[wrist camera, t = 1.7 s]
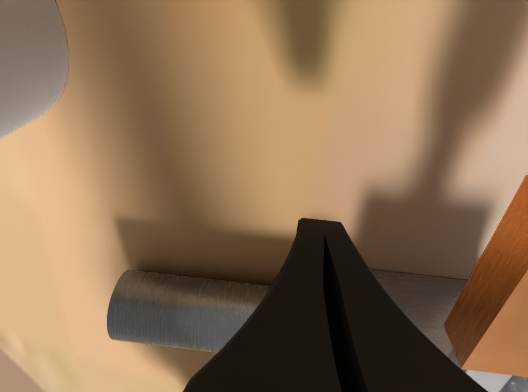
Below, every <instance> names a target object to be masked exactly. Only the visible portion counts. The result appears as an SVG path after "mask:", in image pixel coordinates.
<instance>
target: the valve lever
mask: <svg viewBox="0 0 528 392" xmlns="http://www.w3.org/2000/svg"><path fill="white" fill-rule="evenodd" d="M444 328H445V330H446V333H447V335H448V338H449V340H450V343H451V345H452V348H453V349H452V350H451V352H450V353H449V355H448V358H449V359H450V360H451V361H453V362H454V363H455V364H456V365H457V366H458V367H459V368H461V369H462V370H463V371H464V372H465V373H466V374H468V375H469V376H470V377H471V378H472V379H473V380H475V381H476V382H477V383H478V384H479V385H481V386H482V387H483V388H484V389H486V390H487V391H488V392H499V391H500V390H501V389H502V387H503V386H504V385H505V384H506V383H507V381H508V380H509V379H510V378H511V377H512V375H513V376H521V377H528V175H526V176H525V178H524V180H523V182H522V184H521V185H520V187H519V189H518V191H517V193H516V194H515V196H514V198H513V200H512V202H511V203H510V205H509V207H508V209H507V211H506V212H505V214H504V216H503V218H502V220H501V221H500V223H499V225H498V227H497V229H496V231H495V232H494V234H493V236H492V238H491V240H490V241H489V243H488V245H487V247H486V249H485V250H484V252H483V254H482V256H481V258H480V259H479V261H478V263H477V265H476V267H475V268H474V270H473V272H472V274H471V276H470V278H469V279H468V281H467V283H466V285H465V287H464V288H463V290H462V292H461V294H460V296H459V297H458V299H457V301H456V303H455V305H454V306H453V308H452V310H451V312H450V314H449V315H448V317H447V319H446V321H445V323H444Z"/></svg>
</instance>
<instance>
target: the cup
mask: <svg viewBox="0 0 528 392" xmlns="http://www.w3.org/2000/svg"><path fill="white" fill-rule="evenodd" d="M68 67H69V52H68V43H67V37H66V32H65V28H64V25H63V21H62V18H61V15H60V12H59V9H58V7H57V5H56V2H55V0H0V139H1V138H3V137H5V136H7V135H9V134H10V133H12V132H14V131H16V130H18V129H19V128H21V127H23V126H25V125H27V124H28V123H30V122H32V121H34V120H36V119H38V118H39V117H41V116H43V115H44V114H46V113H47V112H48V111H49V110H50V109H51V108H52V107H53V106H54V105H55V104H56V102H57V101H58V99H59V98H60V96H61V94H62V92H63V90H64V87H65V84H66V80H67V75H68Z"/></svg>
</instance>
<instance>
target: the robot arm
mask: <svg viewBox="0 0 528 392" xmlns="http://www.w3.org/2000/svg"><path fill="white" fill-rule="evenodd" d="M183 392H488V391H487V390H486V389H484V388H483V387H482V386H481V385H479V384H478V383H477V382H476V381H475V380H473V379H472V378H471V377H470V376H469V375H468V374H466V373H465V372H464V371H463V370H462V369H461V368H459V367H458V366H457V365H456V364H455V363H454V362H453V361H451V360H450V359H449V358H448V357H447V356H446V355H445V354H444V353H443V352H442V351H441V350H439V349H438V348H437V347H436V346H435V345H434V344H433V343H432V342H431V341H430V340H429V339H428V338H427V337H426V336H425V335H424V334H423V333H422V332H421V331H420V330H419V329H418V328H417V327H416V326H415V325H414V324H413V323H412V322H411V321H410V320H409V319H408V317H407V316H406V315H405V314H404V313H403V312H402V311H401V309H400V308H399V307H398V306H397V305H396V304H395V302H394V301H393V300H392V299H391V297H390V296H389V295H388V294H387V292H386V291H385V290H384V288H383V287H382V286H381V284H380V283H379V282H378V280H377V279H376V278H375V276H374V275H373V273H372V272H371V271H370V269H369V268H368V266H367V265H366V263H365V262H364V260H363V259H362V257H361V255H360V254H359V252H358V251H357V249H356V247H355V246H354V244H353V242H352V241H351V239H350V237H349V235H348V234H347V232H346V230H345V228H344V226H343V225H342V224H341V222H335V221H326V220H317V219H307V218H302V219H300V220H298V227H297V234H296V237H295V240H294V243H293V245H292V248H291V250H290V252H289V254H288V257H287V259H286V261H285V263H284V265H283V267H282V268H281V270H280V272H279V274H278V276H277V278H276V279H275V281H274V283H273V284H272V286H271V287H270V289H269V291H268V292H267V294H266V295H265V296H264V298H263V299H262V301H261V302H260V304H259V305H258V306H257V308H256V309H255V310H254V312H253V313H252V314H251V316H250V317H249V318H248V319H247V321H246V322H245V323H244V324H243V325H242V327H241V328H240V329H239V330H238V331H237V332H236V333H235V335H234V336H233V337H232V338H231V339H230V340H229V341H228V342H227V343H226V345H225V346H224V347H223V348H222V349H221V350H220V351H219V352H218V353H217V354H216V355H215V356H214V357H213V358H212V359H211V360H210V361H209V362H208V363H207V364H206V365H205V366H203V367H202V368H201V369H200V370H199V371H198V372H197V373H196V374H195V375H194V376H193V377H192V378H191V379H190V381H189V382H188V384H187V385H186V387H185V389H184V391H183Z"/></svg>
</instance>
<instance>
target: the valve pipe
mask: <svg viewBox="0 0 528 392" xmlns="http://www.w3.org/2000/svg"><path fill="white" fill-rule="evenodd" d="M370 271H371V272H372V273H373V275H374V276H375V278H376V279H377V280H378V282H379V283H380V284H381V286H382V287H383V288H384V290H385V291H386V292H387V294H388V295H389V296H390V297H391V299H392V300H393V301H394V302H395V304H396V305H397V306H398V307H399V308H400V309H401V311H402V312H403V313H404V314H405V315H406V316H407V317H408V319H409V320H410V321H411V322H412V323H413V324H414V325H415V326H416V327H417V328H418V329H419V330H420V331H421V332H422V333H423V334H424V335H425V336H426V337H427V338H428V339H429V340H430V341H431V342H432V343H433V344H434V345H435V346H436V347H437V348H438V349H439V350H441V351H442V352H443V353H444V354H445V355H446V356H447V357H448V355H449V353H450V352H451V350H452V349H453V348H452V345H451V343H450V340H449V338H448V335H447V333H446V330H445V328H444V323H445V321H446V319H447V317H448V315H449V314H450V312H451V310H452V308H453V306H454V305H455V303H456V301H457V299H458V297H459V296H460V294H461V292H462V290H463V288H464V287H465V285H466V283H467V281H468V280H461V279H452V278H443V277H434V276H425V275H417V274H408V273H399V272H390V271H381V270H372V269H370ZM270 287H271V286H266V285H257V284H249V283H240V282H232V281H223V280H214V279H206V278H197V277H189V276H180V275H172V274H163V273H155V272H146V271H137V270H128V271H126V272H125V273H124V274H123V275H122V276H121V277H120V279H119V280H118V282H117V284H116V286H115V288H114V291H113V293H112V296H111V299H110V303H109V308H108V314H107V330H108V334H109V336H110V338H111V339H113V340H118V341H126V342H134V343H142V344H150V345H158V346H166V347H174V348H182V349H189V350H197V351H205V352H213V353H218V352H219V351H220V350H221V349H222V348H223V347H224V346H225V345H226V343H227V342H228V341H229V340H230V339H231V338H232V337H233V336H234V335H235V333H236V332H237V331H238V330H239V329H240V328H241V327H242V325H243V324H244V323H245V322H246V321H247V319H248V318H249V317H250V316H251V314H252V313H253V312H254V310H255V309H256V308H257V306H258V305H259V304H260V302H261V301H262V299H263V298H264V296H265V295H266V294H267V292H268V291H269V289H270ZM499 392H528V377H521V376H513V375H512V377H511V378H510V379H509V380H508V381H507V383H506V384H505V385H504V386H503V387H502V389H501V390H500V391H499Z"/></svg>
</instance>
